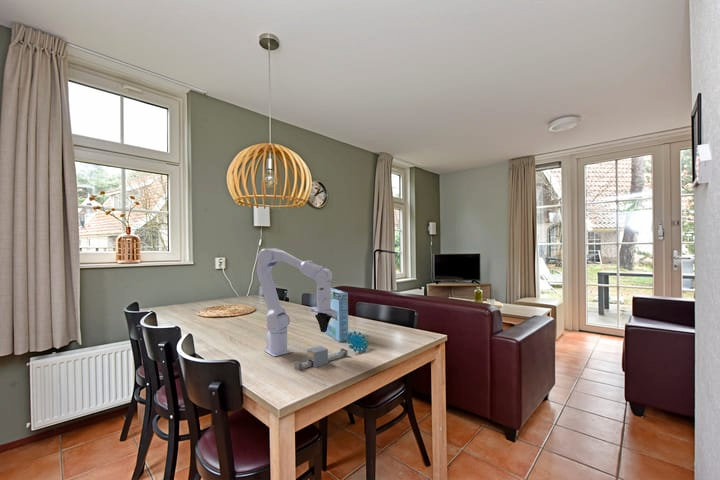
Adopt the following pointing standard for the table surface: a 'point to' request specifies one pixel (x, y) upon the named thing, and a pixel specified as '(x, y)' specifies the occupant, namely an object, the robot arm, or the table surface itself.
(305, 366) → the rail
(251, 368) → the table surface
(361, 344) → the gear
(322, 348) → the block
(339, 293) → the gum box
